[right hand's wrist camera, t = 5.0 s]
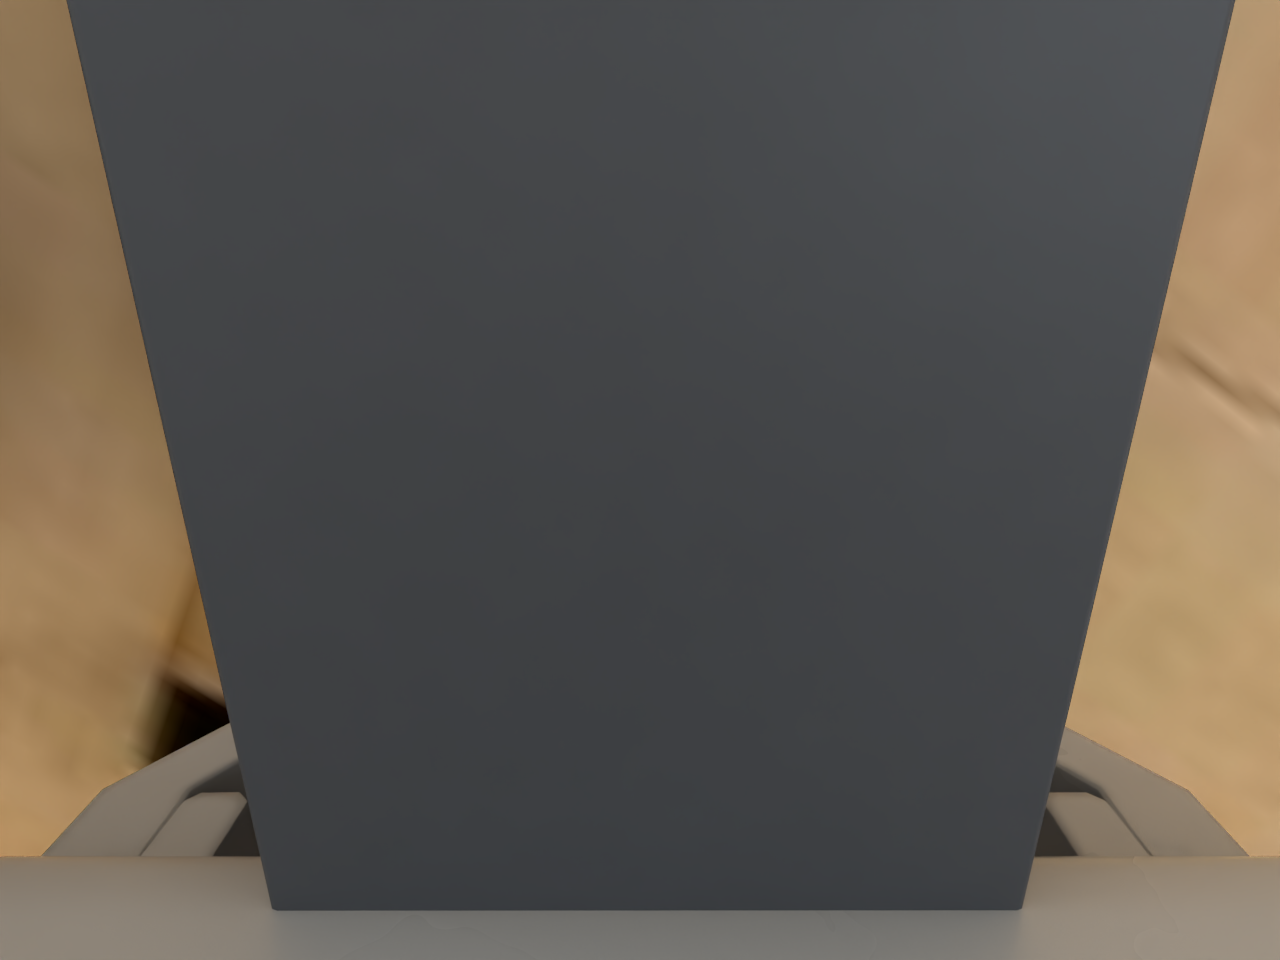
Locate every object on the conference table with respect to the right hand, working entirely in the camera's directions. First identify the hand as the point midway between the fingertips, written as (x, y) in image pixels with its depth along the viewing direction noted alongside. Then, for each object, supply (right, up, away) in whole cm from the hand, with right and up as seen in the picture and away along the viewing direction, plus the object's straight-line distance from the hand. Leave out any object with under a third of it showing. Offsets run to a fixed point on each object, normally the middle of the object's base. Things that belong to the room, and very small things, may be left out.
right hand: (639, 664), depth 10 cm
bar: (0, +10, -1) cm, 11 cm away
